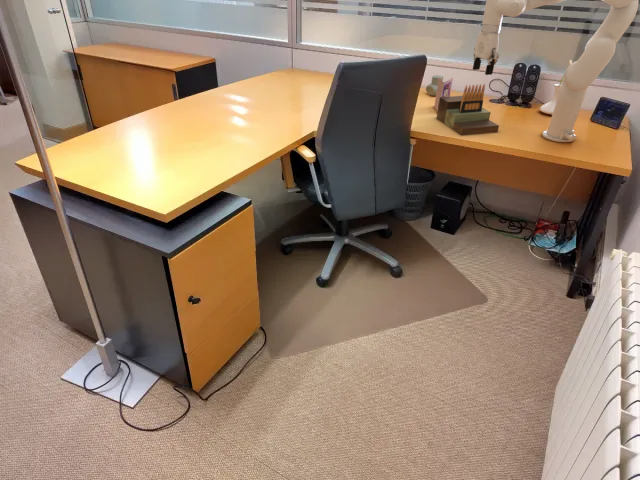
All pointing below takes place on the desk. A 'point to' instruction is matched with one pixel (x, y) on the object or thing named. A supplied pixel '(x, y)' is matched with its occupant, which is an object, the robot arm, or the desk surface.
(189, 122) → the desk surface
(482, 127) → the step shelf
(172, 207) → the desk surface
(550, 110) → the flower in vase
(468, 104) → the ammunition clip
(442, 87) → the greeting card
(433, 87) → the grey pipe tee fitting
